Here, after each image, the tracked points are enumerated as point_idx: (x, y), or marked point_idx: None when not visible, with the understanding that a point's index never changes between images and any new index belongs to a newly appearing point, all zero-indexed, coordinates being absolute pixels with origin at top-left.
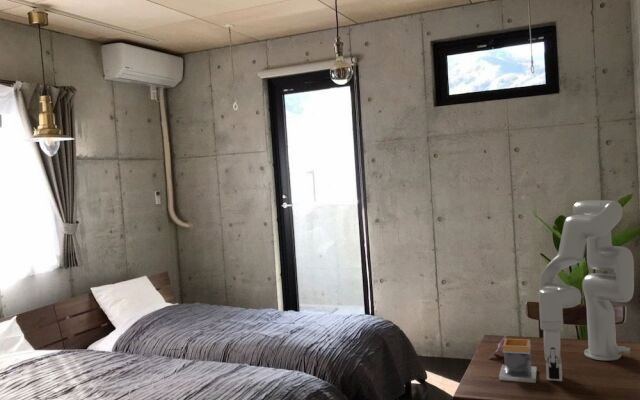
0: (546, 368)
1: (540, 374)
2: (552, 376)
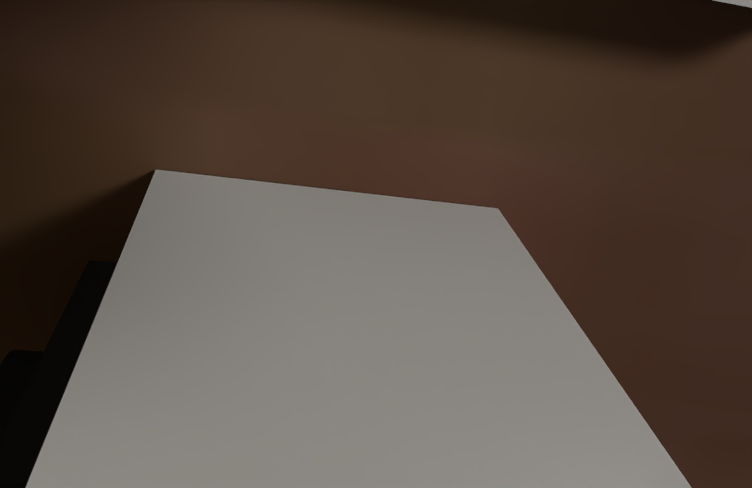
0: (88, 354)
1: (533, 70)
2: (9, 361)
